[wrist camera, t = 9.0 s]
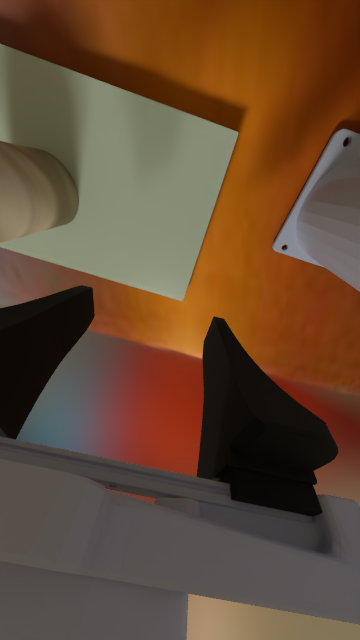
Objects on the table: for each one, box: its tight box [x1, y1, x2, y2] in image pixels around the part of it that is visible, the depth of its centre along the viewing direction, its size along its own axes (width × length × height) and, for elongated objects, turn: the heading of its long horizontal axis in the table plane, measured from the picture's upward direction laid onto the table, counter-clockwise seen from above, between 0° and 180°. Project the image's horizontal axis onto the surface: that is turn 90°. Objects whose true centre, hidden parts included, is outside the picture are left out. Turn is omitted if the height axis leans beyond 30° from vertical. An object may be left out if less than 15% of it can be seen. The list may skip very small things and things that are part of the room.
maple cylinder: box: [0, 141, 79, 242], centre depth 13 cm, size 5×5×6 cm
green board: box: [0, 44, 239, 301], centre depth 16 cm, size 22×13×2 cm, turn 74°
